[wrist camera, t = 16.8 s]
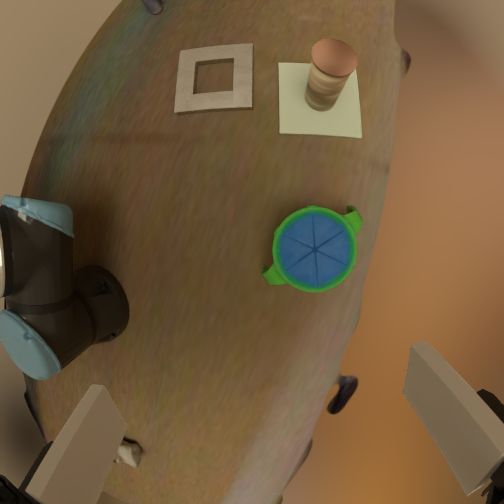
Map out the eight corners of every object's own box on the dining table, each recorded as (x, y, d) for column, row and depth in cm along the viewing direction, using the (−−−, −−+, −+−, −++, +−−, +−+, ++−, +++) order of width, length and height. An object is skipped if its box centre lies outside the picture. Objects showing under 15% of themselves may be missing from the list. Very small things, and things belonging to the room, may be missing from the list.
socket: (177, 115, 42) (174, 112, 40) (183, 54, 40) (180, 50, 38) (252, 109, 41) (251, 106, 39) (253, 47, 39) (252, 43, 37)
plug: (303, 111, 39) (312, 72, 26) (302, 82, 38) (309, 36, 25) (337, 113, 39) (360, 77, 25) (335, 84, 38) (354, 41, 24)
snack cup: (279, 292, 45) (279, 316, 35) (247, 234, 44) (237, 243, 34) (365, 246, 42) (387, 257, 32) (334, 186, 41) (351, 181, 31)
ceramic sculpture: (136, 481, 48) (89, 457, 50) (149, 461, 56) (104, 440, 58) (131, 461, 46) (81, 434, 48) (146, 439, 55) (98, 417, 56)
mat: (279, 134, 41) (279, 133, 40) (278, 64, 39) (278, 62, 38) (360, 138, 40) (361, 138, 39) (354, 69, 38) (355, 68, 37)
